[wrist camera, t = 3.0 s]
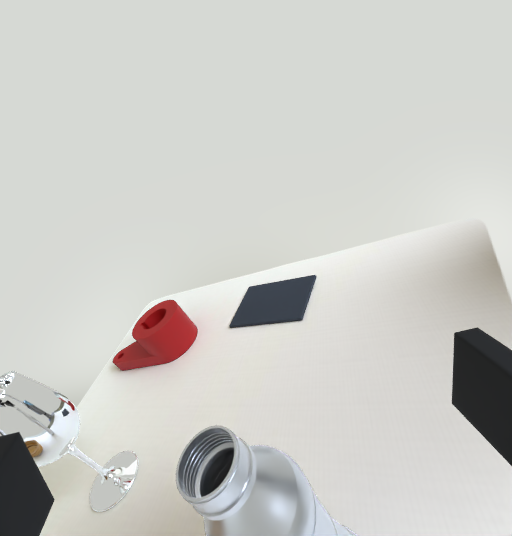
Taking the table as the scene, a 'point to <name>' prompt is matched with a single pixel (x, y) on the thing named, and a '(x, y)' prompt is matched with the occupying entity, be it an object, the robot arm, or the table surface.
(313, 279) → the mat
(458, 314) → the table surface
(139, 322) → the lever
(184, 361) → the table surface
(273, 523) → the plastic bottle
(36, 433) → the wineglass
